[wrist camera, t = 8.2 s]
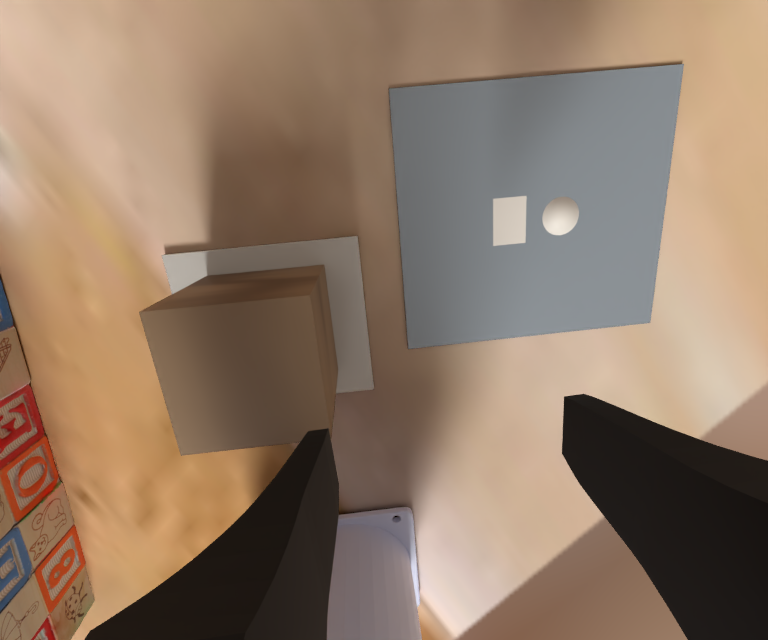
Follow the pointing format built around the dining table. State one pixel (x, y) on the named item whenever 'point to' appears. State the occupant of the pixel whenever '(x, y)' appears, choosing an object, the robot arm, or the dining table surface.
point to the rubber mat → (331, 253)
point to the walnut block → (246, 358)
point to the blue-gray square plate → (532, 201)
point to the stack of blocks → (33, 515)
